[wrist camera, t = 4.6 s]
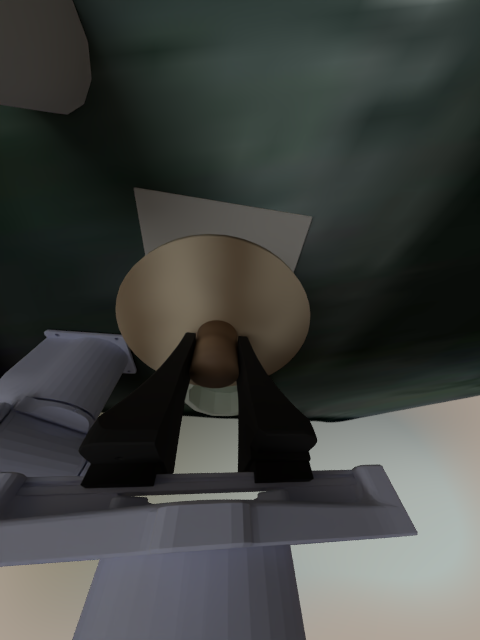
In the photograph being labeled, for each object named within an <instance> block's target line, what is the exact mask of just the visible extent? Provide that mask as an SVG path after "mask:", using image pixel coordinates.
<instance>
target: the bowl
mask: <svg viewBox="0 0 480 640" xmlns="http://www.w3.org/2000/svg"><path fill="white" fill-rule="evenodd" d="M185 403H186V404H188V405H189V406H190V407H191V408H193V409H194V410H195V411H198V412H202V413H205V414H208V415H213V416H234V415H238V392H237V386H229V387H223V388H206V387H202V386H198V385H192V384H189V387H188V390H187V394H186V398H185Z"/></svg>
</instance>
